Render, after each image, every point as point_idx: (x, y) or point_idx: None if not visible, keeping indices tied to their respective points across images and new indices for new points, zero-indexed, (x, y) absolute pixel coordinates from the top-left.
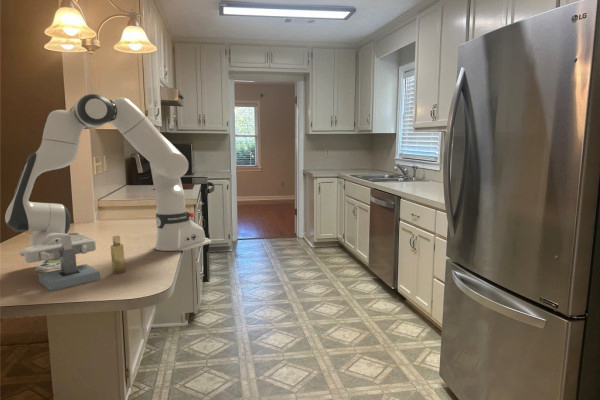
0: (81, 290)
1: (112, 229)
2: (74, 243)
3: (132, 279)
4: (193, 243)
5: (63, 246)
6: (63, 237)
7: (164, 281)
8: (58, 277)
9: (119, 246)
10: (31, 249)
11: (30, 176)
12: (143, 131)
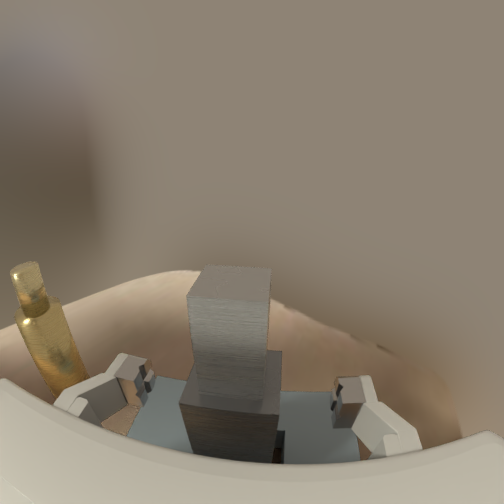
0: None
1: None
2: (96, 437)
3: (130, 332)
4: None
5: (267, 343)
6: (262, 273)
7: (124, 288)
8: (305, 429)
9: (51, 297)
10: (489, 486)
11: None
12: None
